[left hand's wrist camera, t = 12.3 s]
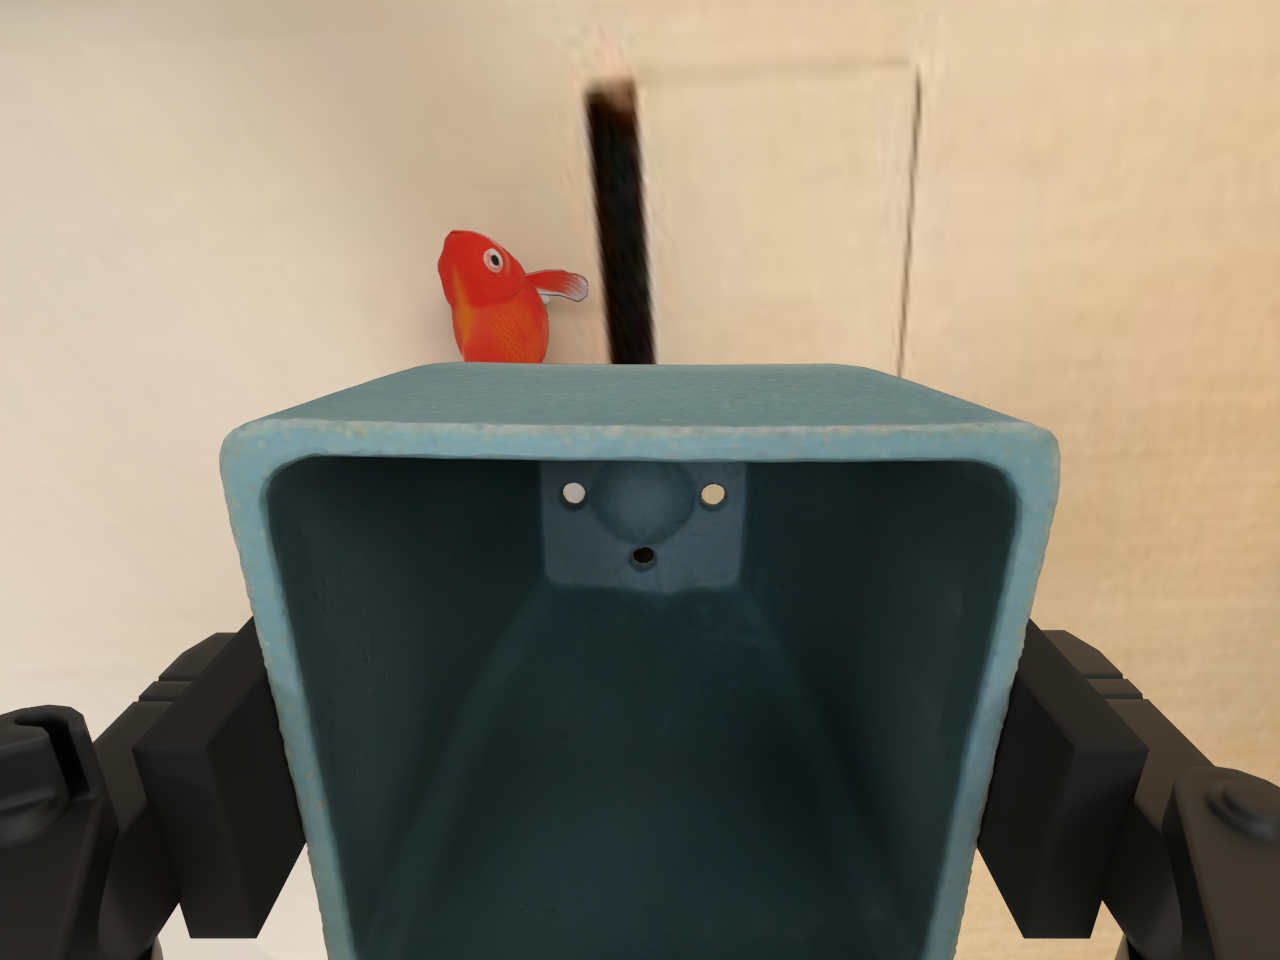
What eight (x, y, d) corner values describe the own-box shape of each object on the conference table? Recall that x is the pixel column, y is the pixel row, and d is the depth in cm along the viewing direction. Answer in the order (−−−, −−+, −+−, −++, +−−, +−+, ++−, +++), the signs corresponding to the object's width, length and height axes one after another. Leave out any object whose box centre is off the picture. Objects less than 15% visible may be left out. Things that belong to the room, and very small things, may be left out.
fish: (674, 211, 32) (584, 339, 26) (665, 461, 44) (601, 592, 37) (459, 173, 35) (328, 281, 28) (504, 419, 46) (418, 535, 40)
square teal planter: (468, 651, 19) (331, 1015, 10) (433, 300, 16) (197, 422, 7) (811, 651, 19) (947, 1014, 11) (845, 300, 16) (1081, 422, 7)
